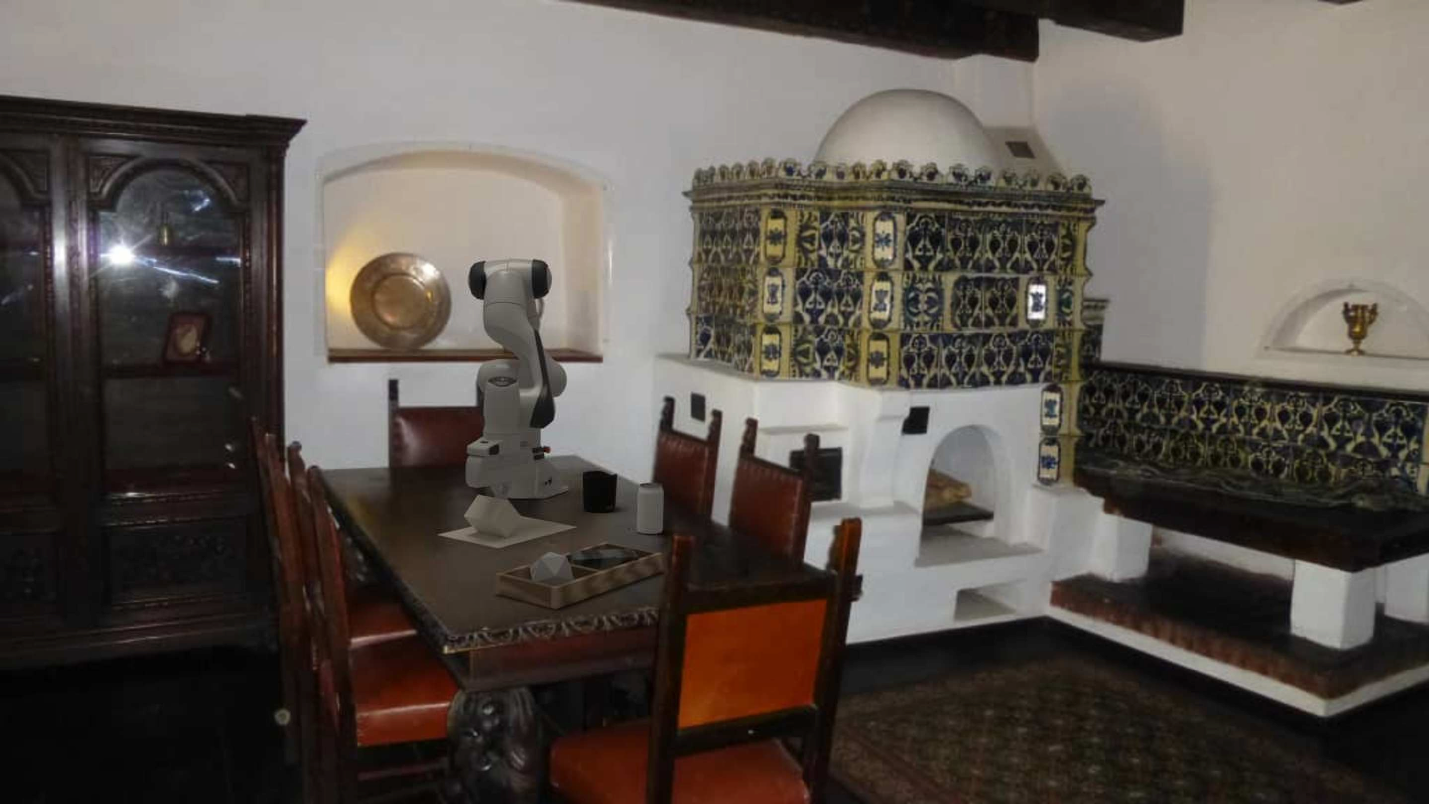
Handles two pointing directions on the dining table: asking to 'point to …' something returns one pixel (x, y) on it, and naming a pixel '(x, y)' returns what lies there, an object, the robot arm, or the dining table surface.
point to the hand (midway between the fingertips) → (501, 500)
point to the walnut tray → (577, 579)
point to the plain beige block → (492, 516)
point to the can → (650, 508)
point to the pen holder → (599, 491)
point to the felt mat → (520, 533)
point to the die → (552, 569)
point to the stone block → (602, 558)
